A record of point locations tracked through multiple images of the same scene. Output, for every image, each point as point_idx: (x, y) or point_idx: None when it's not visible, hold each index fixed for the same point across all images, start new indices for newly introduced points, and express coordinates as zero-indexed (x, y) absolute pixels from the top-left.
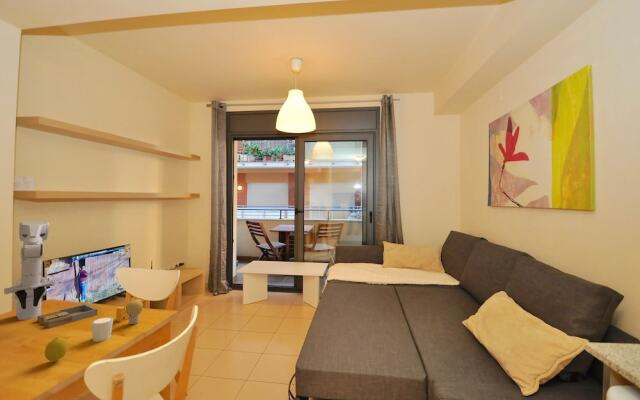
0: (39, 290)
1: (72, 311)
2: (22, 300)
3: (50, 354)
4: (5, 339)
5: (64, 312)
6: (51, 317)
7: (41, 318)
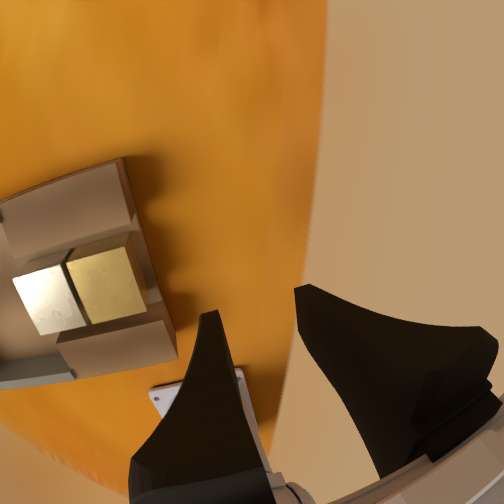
0: (237, 461)
1: (29, 362)
2: (386, 316)
3: None
4: (316, 167)
5: (42, 322)
6: (101, 266)
7: (157, 316)
